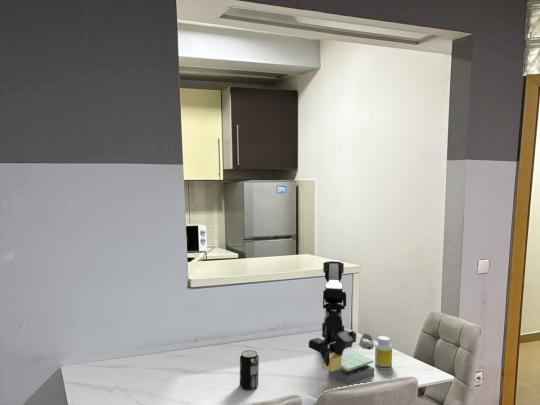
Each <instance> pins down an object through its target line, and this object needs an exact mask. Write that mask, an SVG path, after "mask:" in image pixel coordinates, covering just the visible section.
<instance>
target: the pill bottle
mask: <svg viewBox="0 0 540 405" xmlns="http://www.w3.org/2000/svg"><path fill="white" fill-rule="evenodd" d="M390 342H391V338H390V337H388V336H386V335H379V336H377V342H376V343H375V345H374V365H375V367H376V368H378V369H379V370H390V369H391V368H392V364H393V360H392V359H393V346H392V344H390Z"/></svg>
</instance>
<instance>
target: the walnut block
mask: <svg viewBox="0 0 540 405" xmlns="http://www.w3.org/2000/svg"><path fill="white" fill-rule="evenodd" d="M343 373H344V374H346V375H351V374H354V372H353V371H344V372H343Z"/></svg>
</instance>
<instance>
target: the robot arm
mask: <svg viewBox="0 0 540 405" xmlns="http://www.w3.org/2000/svg"><path fill="white" fill-rule="evenodd" d="M322 268H323V270H322V271H323V274H324V279H325V280H326V283H325V286H324V288H325V289H323V290H322V295H323V296H322V309H325V313H324V314H325V316H324V317H323V322H322V324H321V325H322V326H321V336H322V338H323V339H321V338H319V337H316V338H312V339H310V340H309V341H308V349H309V348H310V349H312V350H314V351H315V352H318V353H320V355H321V357H322V360H323V363H324V362H325V365H326V366H328V365H329V354H331V353H336V354H338V355H340V356H342V355H343V352H344V351H345V350H346V349H348V348H352V347H353V344H354V343H357V332H356V331H354V330H351V331H348V330H346V329H345V326H344V324H343V316H342V310H345V309H346V308H345V307H347V293H346V291H345V290H343V284H342V283H341V282H340V281H341V280H342V278H343V277H342V275H343V274H344V271H345V269H344V263H343V262H341V261H340V260H334V259H332V260H331V259H330V260H327V261H324V262H323V267H322Z"/></svg>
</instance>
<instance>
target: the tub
mask: <svg viewBox="0 0 540 405" xmlns="http://www.w3.org/2000/svg"><path fill="white" fill-rule="evenodd" d="M350 371H352V370H350ZM353 372H354V374H351V375H346V374H344V373H342V372H340V371H338V370H335V371H332V372H331V371H329V370H328V375H330V376H331V377H334V378H336V379H337V380H340V381H342V382H343V383H344V384H347V385H350V384H352V383H355V382H358V381H360V380H363V379H365V378H368V377H371V376H374V375H375V367H374V366H372V365H370V364H367V365H364V366H362V367H359V370H358V371H353Z"/></svg>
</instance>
